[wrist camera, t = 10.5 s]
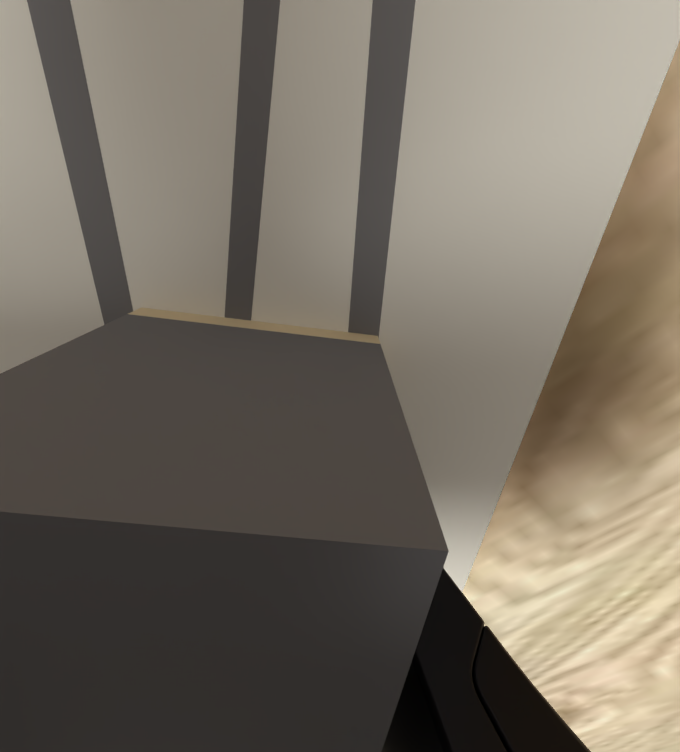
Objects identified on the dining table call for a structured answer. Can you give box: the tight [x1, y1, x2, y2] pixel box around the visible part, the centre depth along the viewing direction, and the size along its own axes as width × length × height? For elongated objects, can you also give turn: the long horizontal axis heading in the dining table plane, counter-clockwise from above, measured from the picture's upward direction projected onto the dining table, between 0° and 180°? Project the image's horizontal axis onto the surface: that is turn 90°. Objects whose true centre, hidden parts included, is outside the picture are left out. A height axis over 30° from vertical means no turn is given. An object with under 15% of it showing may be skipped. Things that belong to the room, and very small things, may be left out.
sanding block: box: [0, 308, 449, 752], centre depth 6 cm, size 4×7×5 cm, turn 173°
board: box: [0, 0, 680, 592], centre depth 8 cm, size 12×20×1 cm, turn 172°
